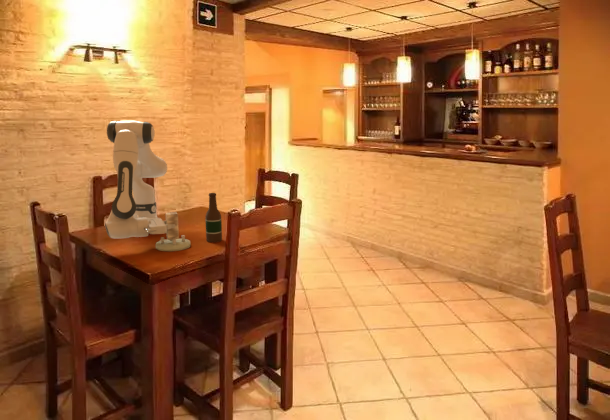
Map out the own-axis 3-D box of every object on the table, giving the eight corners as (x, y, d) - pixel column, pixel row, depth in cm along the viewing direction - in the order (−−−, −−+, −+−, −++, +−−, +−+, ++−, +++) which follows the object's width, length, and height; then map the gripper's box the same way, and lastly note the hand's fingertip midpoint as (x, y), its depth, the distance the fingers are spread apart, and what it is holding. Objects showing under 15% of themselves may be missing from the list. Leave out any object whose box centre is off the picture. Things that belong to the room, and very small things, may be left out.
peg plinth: (158, 252, 223) (157, 242, 222) (154, 244, 238) (153, 234, 237) (193, 249, 230) (192, 238, 229) (187, 241, 244) (186, 231, 243)
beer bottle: (214, 237, 250) (212, 191, 246) (225, 240, 246) (223, 192, 241) (203, 241, 244) (200, 193, 239) (214, 243, 240) (212, 195, 235)
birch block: (168, 239, 230) (166, 214, 227) (166, 237, 234) (165, 212, 232) (179, 238, 232) (177, 213, 229) (177, 236, 236) (176, 212, 234)
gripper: (145, 224, 217) (177, 222, 222) (141, 216, 235) (170, 214, 240) (146, 238, 218) (177, 235, 223) (141, 229, 236) (171, 226, 242)
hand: (174, 224), depth 232 cm, fingers closed on birch block, 5 cm apart
